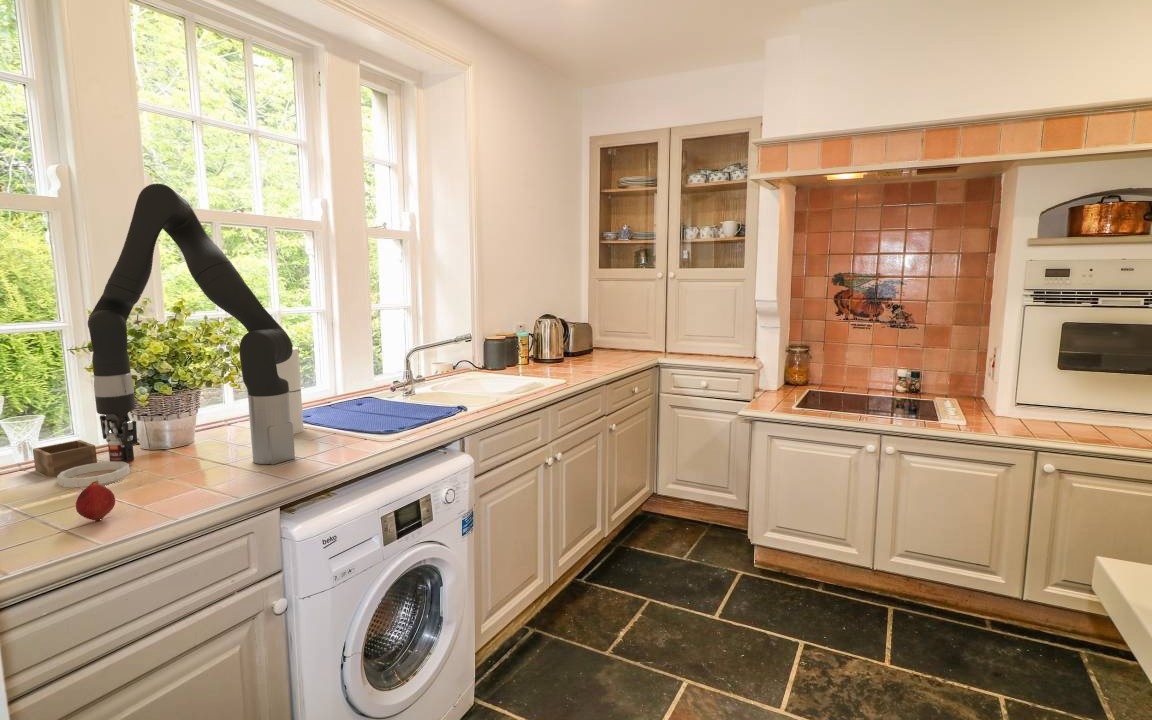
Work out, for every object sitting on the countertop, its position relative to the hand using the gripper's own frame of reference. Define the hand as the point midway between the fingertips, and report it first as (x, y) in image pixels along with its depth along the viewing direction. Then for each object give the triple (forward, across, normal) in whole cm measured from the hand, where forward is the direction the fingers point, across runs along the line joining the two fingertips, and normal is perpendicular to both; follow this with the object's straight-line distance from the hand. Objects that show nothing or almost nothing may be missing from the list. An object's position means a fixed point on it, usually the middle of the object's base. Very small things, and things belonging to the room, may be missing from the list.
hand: (122, 458), depth 145 cm
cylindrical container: (+2, -5, -41) cm, 41 cm away
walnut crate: (+2, +6, +9) cm, 11 cm away
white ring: (+2, -7, +8) cm, 11 cm away
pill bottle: (+2, 0, 0) cm, 2 cm away
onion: (+2, -34, +17) cm, 38 cm away
